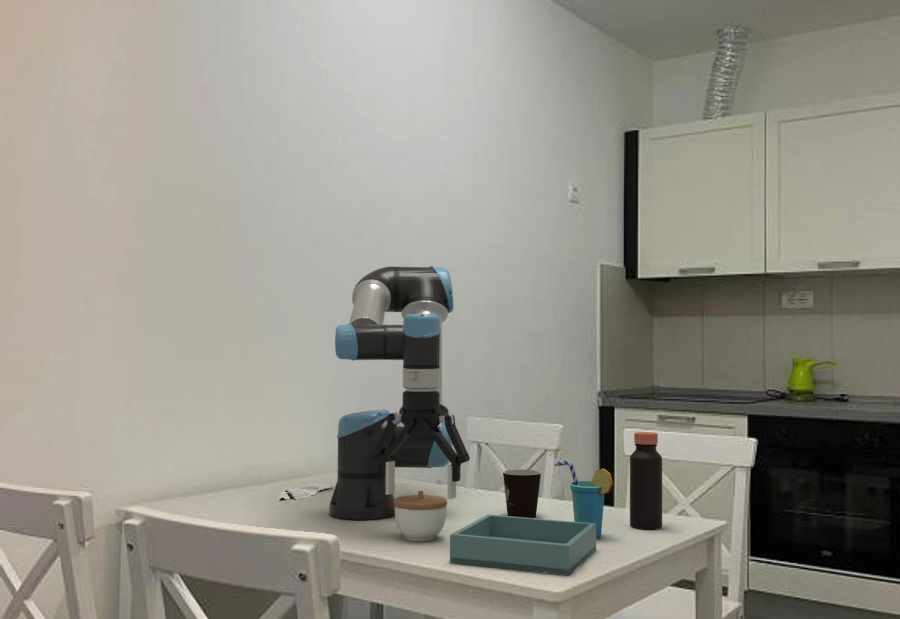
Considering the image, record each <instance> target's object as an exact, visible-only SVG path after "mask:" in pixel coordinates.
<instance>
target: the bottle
mask: <svg viewBox="0 0 900 619" xmlns="http://www.w3.org/2000/svg"><path fill="white" fill-rule="evenodd" d="M633 434H634V435H633V438H634V439H633V442H634V446H635V450H634V451H633V452H632V453H631V454H630V456H629V525H630V527H632V528H634V529H636V530H647V531H649V530H650V531H652V530H658V529H661V528H662V526H663V456H662V455H661V454H660V453H659V452H658V451H657V447H658V443H659V442H658V433H657V432H654V431H653V432H651V431H650V432H649V431H638V432H634V433H633Z"/></svg>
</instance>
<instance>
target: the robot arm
mask: <svg viewBox="0 0 900 619" xmlns="http://www.w3.org/2000/svg"><path fill="white" fill-rule="evenodd" d="M351 301H352V304H353V308H352V311H351V316H350V319H349V323H346V324H339V325H338V326H337V327H336V328H335V332H334V333H335V334H334V336H335V338H334V349H335V350H334V351H335V356H336V357H337V358H338V359H339V360H349V361H402V362H403V364H402V388H403V389H405V390H404V391H403V392H402V406H401V407H400V408H399V409H398V410H399V411H398V412H391V413H390V412H389V409H374V410H372V409H371V410H366V411H365V410H364V411H358V412H353V413H348V414H345V415H343V416H342V417H340V418H339V420H338V425H337V428H338V429H337V436H336V438H337V480H336V483H335V487H334V488H333V492H332V496H331V499H330V503H329V508H328V509H329V511H328V512H329V516H331V517H334V518H337V519H341V520H343V519H344V520H355V521H356V520H357V521H360V520H361V521H363V520H364V521H365V520H368V521H369V520H379V519H384V518H385V519H386V518H389V517H392V516H395V505H394V499H395V497H394V496H395V495H394V493H395V492H396V491H395V489H396V488H395V487H396V486H395V484H396V483H395V481H396V479H395V478H396V473H395V471H396V468H413V469H414V468H418V469H419V468H422V469H423V468H425V469H432V468H445V467H446V466H447V500H452V499H455V498H457V482H460V481H461V465H462V464H463V463H466V462H469V461H470V460H471V458H470V455H469V453H468V451H467V449H466V446H465V444H464V441H463V439H462V436H461V435H460V432H459V430H458V428H457V425H456V419H455V415H454V414H453V413H452V414H449V413H450V412H449V409H448V407H447V406H446V405H445V404H443V323H444V322H445V321H446V320H447V318H448V315H449V314H450V313H453V311H454V294H453V283H452V278H451V273H450V272H449V270H448V269H447V268H445V267H441V266H440V267H439V266H437V267H436V266H433V265H430V266H427V267H426V266H384V267H381V268H377V269H375V270H373V271H371V272H369V273H367V274H366V275H364V276H363V277H362V278H361V279H359V281H358V282H357V283H356V285H355V286H354V288H353V291H352V296H351ZM386 313H401V318H402V319H403V324H384V320H385V315H386ZM453 448H454V449H453ZM448 464H449V465H448Z"/></svg>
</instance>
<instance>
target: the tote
mask: <svg viewBox="0 0 900 619" xmlns="http://www.w3.org/2000/svg"><path fill="white" fill-rule="evenodd" d="M596 551H597V539H596V524H595V523H583V522H574V521H570V520H557V519H548V518H547V519H546V518H545V519H544V518H537V517H536V518H524V517H513V516H508V515H500V514H499V515H498V514H486V515H484V516H483V517H481V518H478V519H477V520H474V521H473V522H471V523H469V524H467V525H465V526H464V527H462V528H460V529H458V530H456V531H454V532H453V533H451V534H449V563H450V564H451V563H452V564H460V565H466V566H467V565H470V566H476V565H478V566H479V567H486V566H488V567H487V568H495V567H496V568H497V569H504V568H507V569H506V570H513V569H515V571H523V570H525V571H524V572H532V571H537V572H536V573H541V572H547V573H546V574H550V573H556V574H555V575H559V574H566V575H565V576H571V575H572V574H573V573H574V572H575V571H576V570H577V569H578V568H579V567H580V566H581V565H582V564H583V563H584V562H586V560H587V559H589V558H590V557H591V555H593V553H594V552H596ZM581 563H582V564H581ZM580 564H581V565H580ZM579 565H580V566H579ZM578 566H579V567H578ZM577 567H578V568H577ZM576 568H577V569H576ZM575 569H576V570H575ZM574 570H575V571H574ZM573 571H574V572H573ZM572 572H573V573H572Z"/></svg>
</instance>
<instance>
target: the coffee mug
mask: <svg viewBox="0 0 900 619" xmlns="http://www.w3.org/2000/svg"><path fill="white" fill-rule="evenodd" d="M541 475H542V472H541V471H539V470H535V469H524V468H523V469H519V468H518V469H505V470H503V471H502V476H503V477H502V478H503V484H504V485H503V486H504V493H505V494H504V496H505V504H506V512H507V513H506V514H507V515H506V516H513V517H524V518H536V519H537V511H538V504H539V503H538V502H539V493H540V485H541V479H542V478H541Z"/></svg>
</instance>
